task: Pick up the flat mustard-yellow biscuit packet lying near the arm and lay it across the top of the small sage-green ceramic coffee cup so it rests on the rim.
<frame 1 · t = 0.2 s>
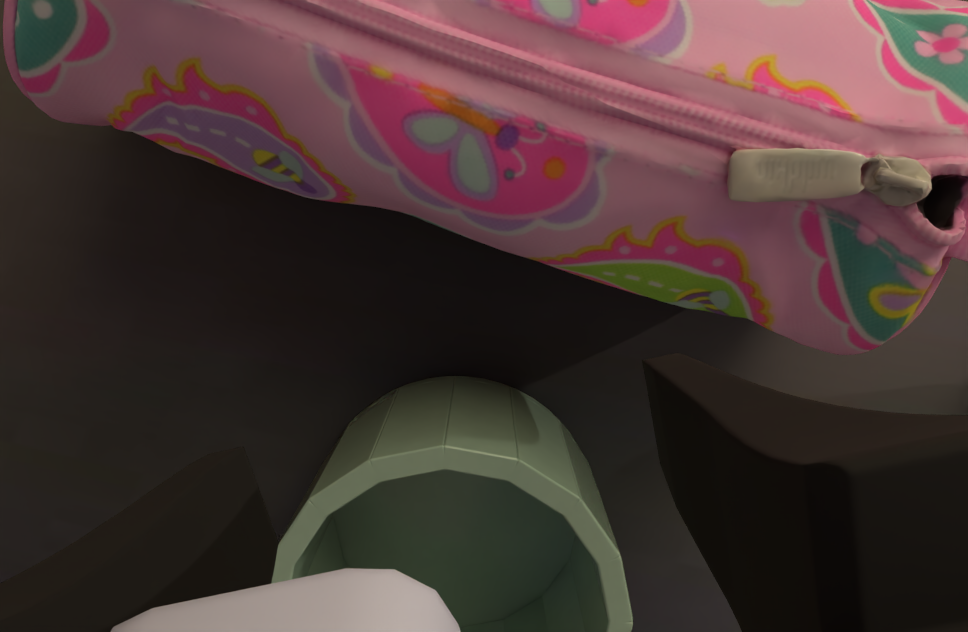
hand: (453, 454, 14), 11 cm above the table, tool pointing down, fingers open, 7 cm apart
cup: (456, 508, 25), on the table
pencil case: (516, 88, 23), on the table
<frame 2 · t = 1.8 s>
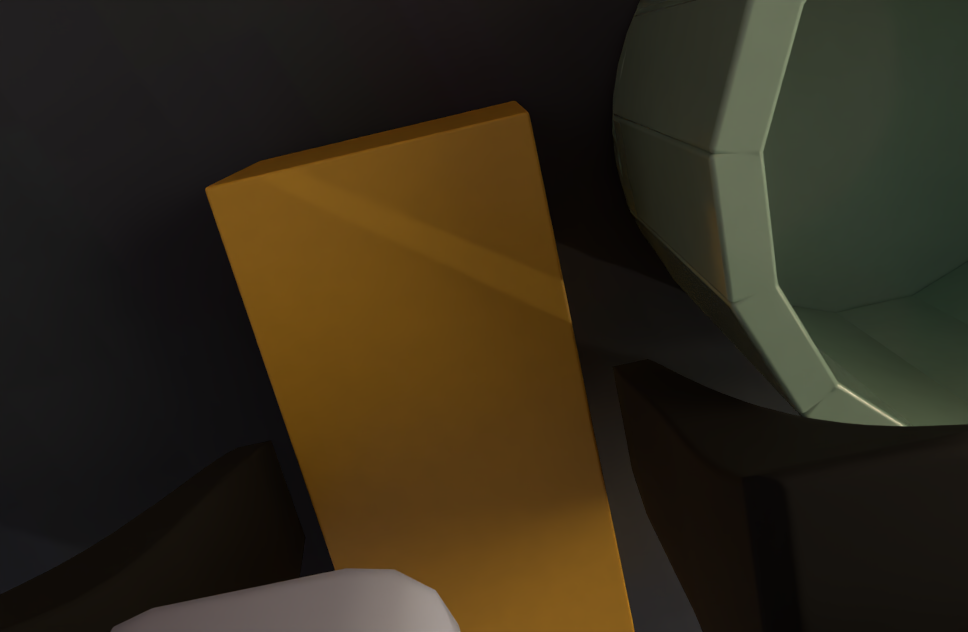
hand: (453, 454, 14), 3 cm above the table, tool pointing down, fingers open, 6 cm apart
cup: (845, 106, 15), on the table
packet: (454, 393, 16), on the table
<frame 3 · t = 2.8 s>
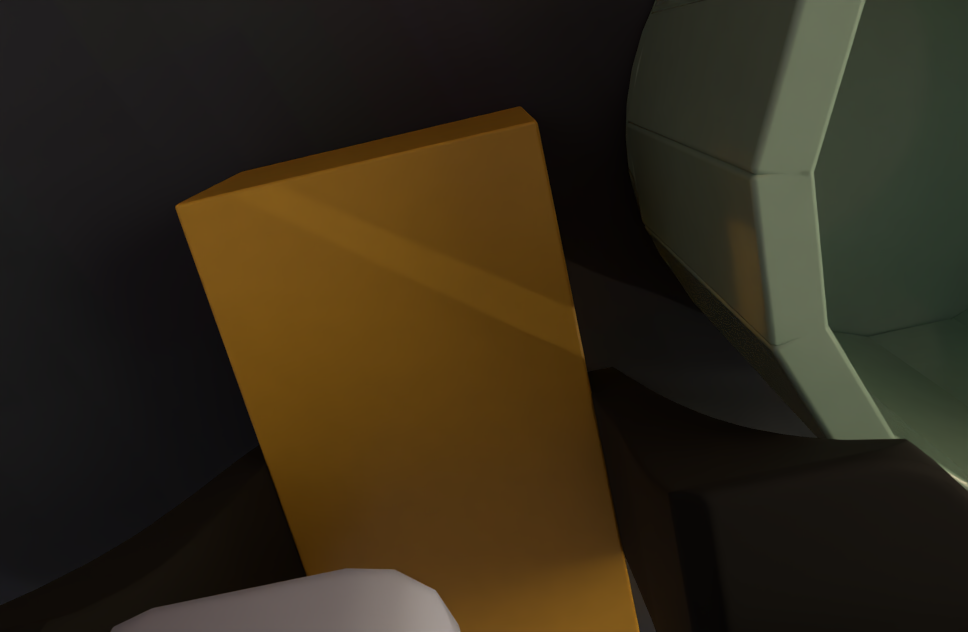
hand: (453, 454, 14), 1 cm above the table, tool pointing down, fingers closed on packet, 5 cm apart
cup: (881, 112, 13), on the table
packet: (454, 422, 15), on the table, touching gripper
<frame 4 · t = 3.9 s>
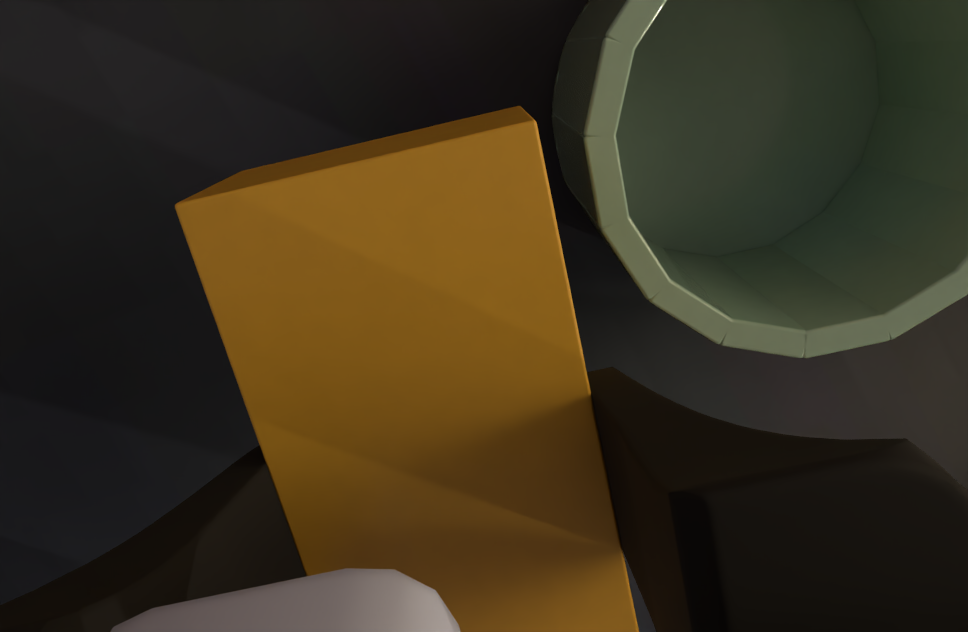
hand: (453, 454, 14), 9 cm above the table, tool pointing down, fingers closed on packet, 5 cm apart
cup: (720, 106, 20), on the table
packet: (453, 421, 15), point 7 cm above the table, touching gripper
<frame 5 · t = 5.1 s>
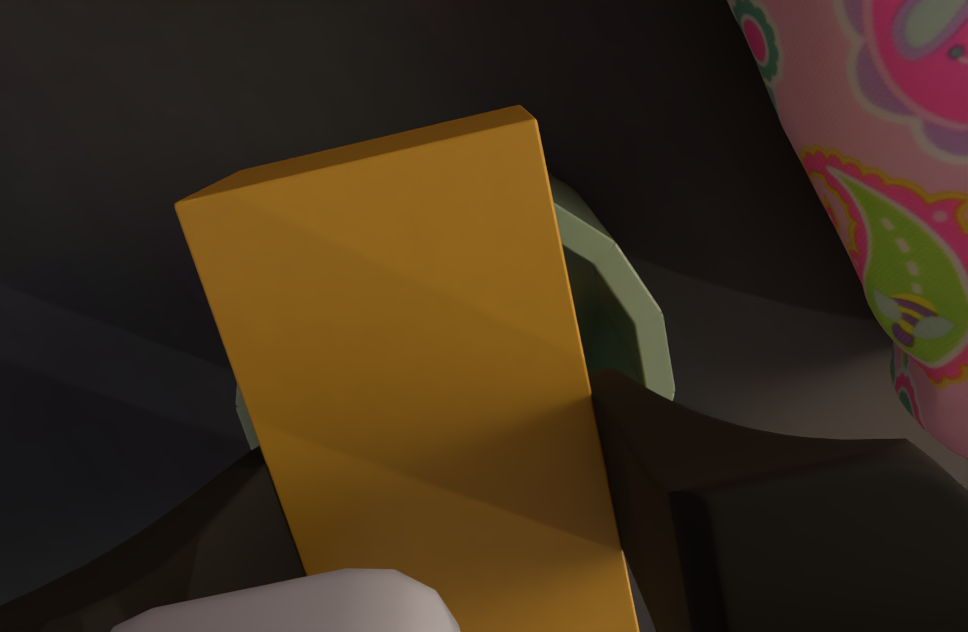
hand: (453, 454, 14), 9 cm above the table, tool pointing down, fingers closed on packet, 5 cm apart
cup: (459, 302, 22), on the table
packet: (453, 421, 15), point 7 cm above the table, touching gripper
when the fingers open (8 cm above the table, at t = 5.8 s): packet stays where it is, resting on cup.
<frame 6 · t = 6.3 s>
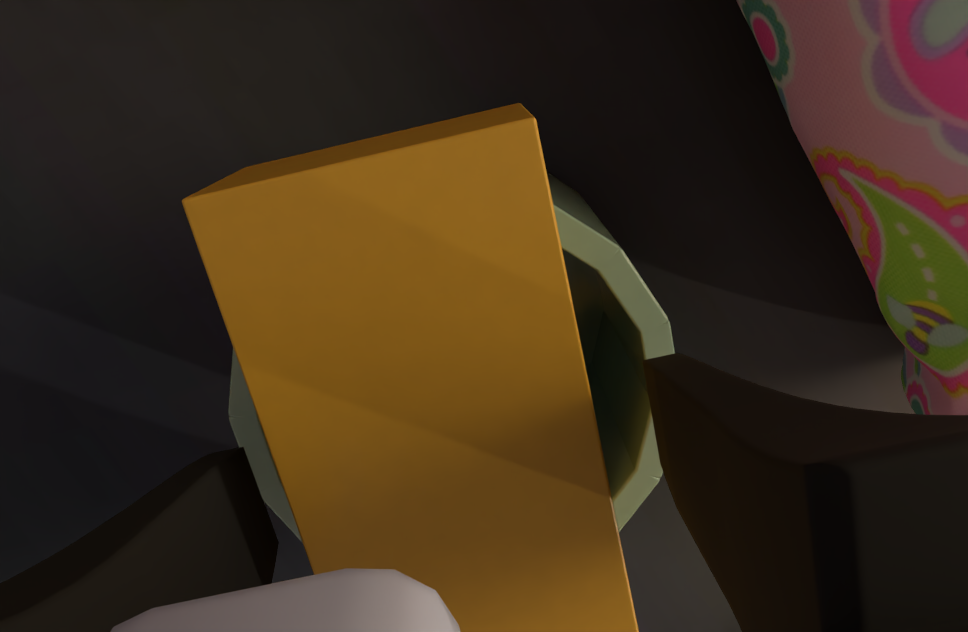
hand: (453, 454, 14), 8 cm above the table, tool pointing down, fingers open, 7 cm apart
cup: (459, 307, 21), on the table
packet: (454, 413, 15), point 6 cm above the table, touching cup
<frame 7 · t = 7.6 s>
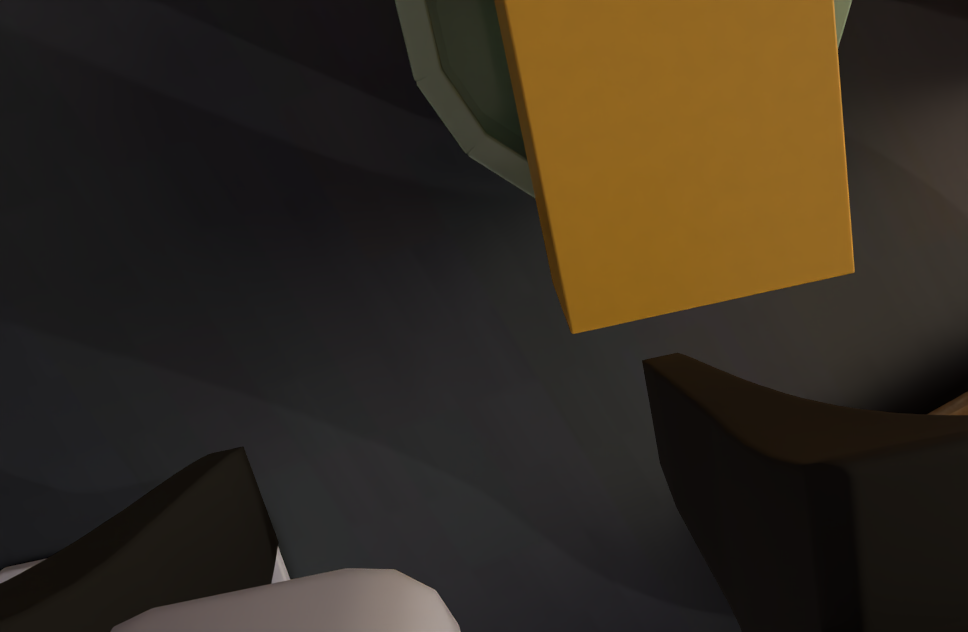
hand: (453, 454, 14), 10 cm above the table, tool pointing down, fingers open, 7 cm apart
cup: (580, 3, 21), on the table
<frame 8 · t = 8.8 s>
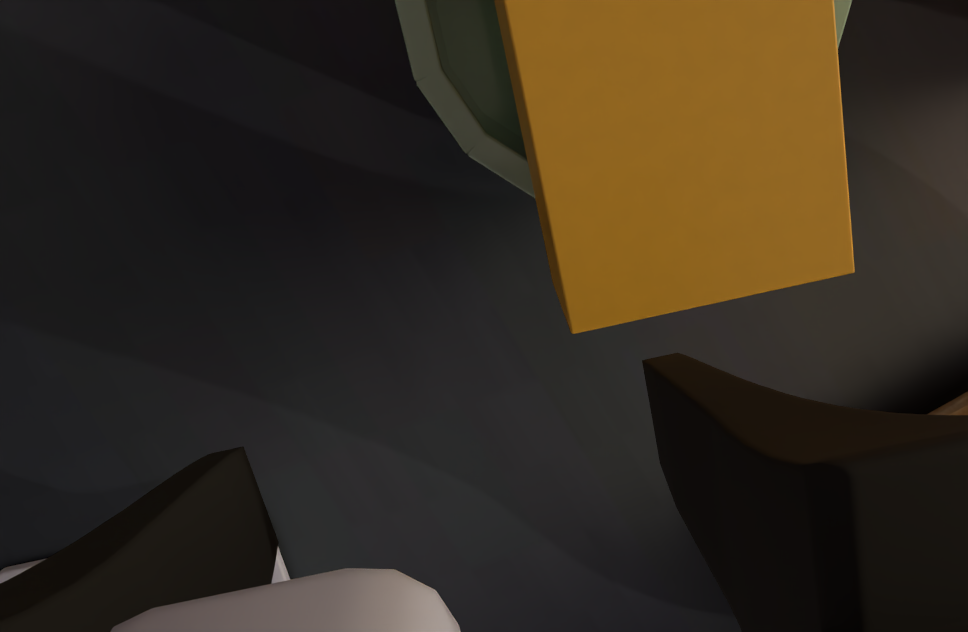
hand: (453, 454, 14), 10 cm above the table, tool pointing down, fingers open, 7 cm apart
cup: (580, 3, 21), on the table
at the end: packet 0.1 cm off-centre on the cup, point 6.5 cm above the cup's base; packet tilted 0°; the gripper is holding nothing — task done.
